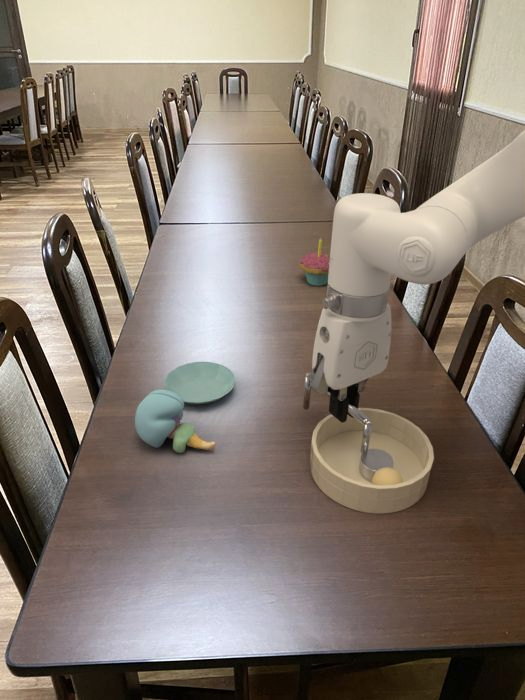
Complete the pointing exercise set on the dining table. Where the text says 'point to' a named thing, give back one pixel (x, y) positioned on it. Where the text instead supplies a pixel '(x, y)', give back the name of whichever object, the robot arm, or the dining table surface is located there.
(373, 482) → the tan ball
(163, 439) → the multicolor toy piece
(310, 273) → the cupcake
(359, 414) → the ladle
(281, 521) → the dining table surface
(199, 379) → the saucer
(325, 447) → the bowl
